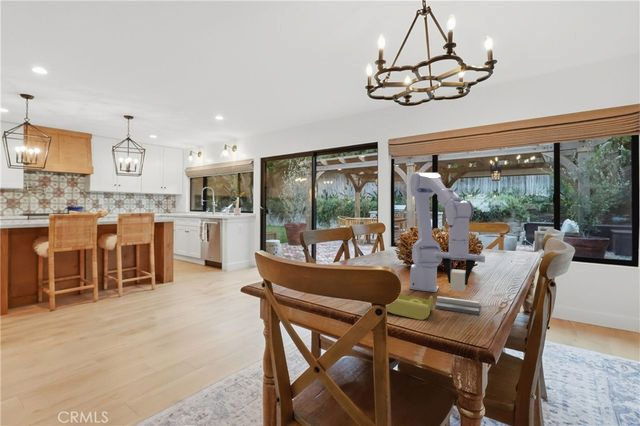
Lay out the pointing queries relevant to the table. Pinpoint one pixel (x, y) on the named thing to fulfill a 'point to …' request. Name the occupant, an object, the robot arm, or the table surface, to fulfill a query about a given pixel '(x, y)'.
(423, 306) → the plastic component
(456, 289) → the block
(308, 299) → the table surface
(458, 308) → the rail board
